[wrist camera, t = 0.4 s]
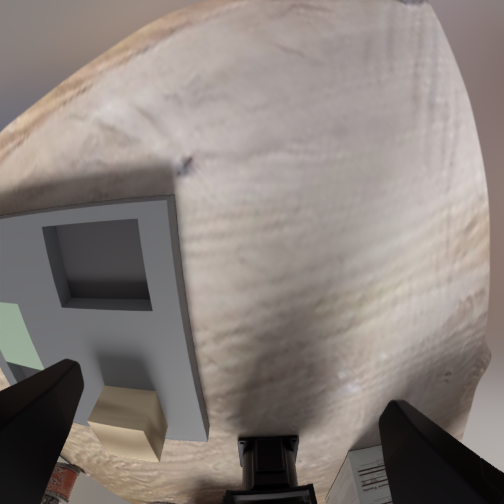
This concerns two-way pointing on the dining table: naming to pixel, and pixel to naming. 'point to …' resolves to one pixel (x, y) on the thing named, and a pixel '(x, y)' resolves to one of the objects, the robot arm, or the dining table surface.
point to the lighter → (60, 484)
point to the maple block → (129, 423)
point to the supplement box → (361, 479)
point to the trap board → (102, 303)
